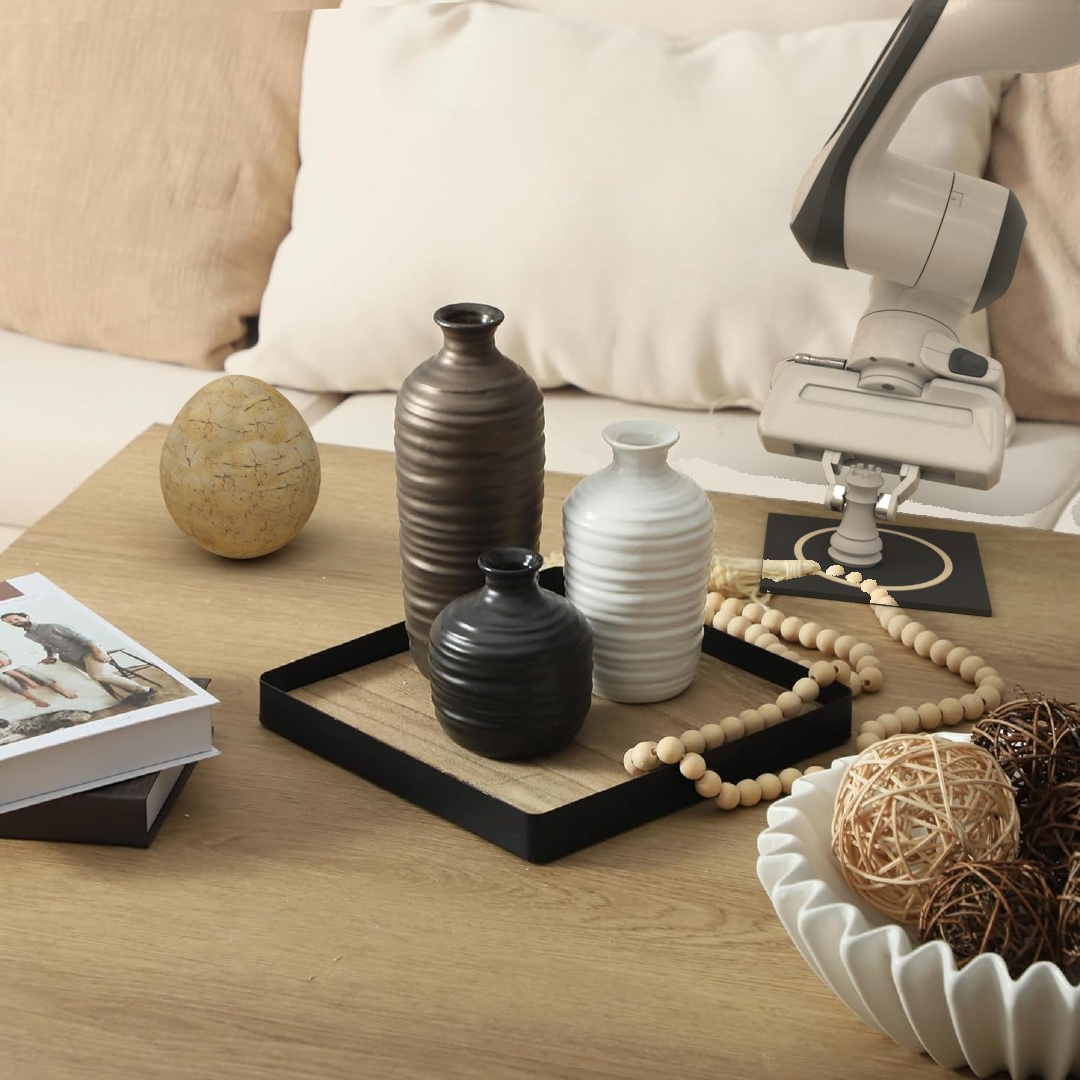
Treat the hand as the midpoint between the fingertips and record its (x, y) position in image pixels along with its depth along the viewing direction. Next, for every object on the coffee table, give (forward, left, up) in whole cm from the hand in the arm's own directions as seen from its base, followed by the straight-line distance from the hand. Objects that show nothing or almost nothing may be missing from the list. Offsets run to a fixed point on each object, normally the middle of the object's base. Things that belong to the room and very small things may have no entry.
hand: (858, 513), depth 120 cm
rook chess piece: (0, -1, -5) cm, 5 cm away
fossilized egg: (+49, +9, -5) cm, 50 cm away
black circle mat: (-2, -2, -5) cm, 6 cm away
